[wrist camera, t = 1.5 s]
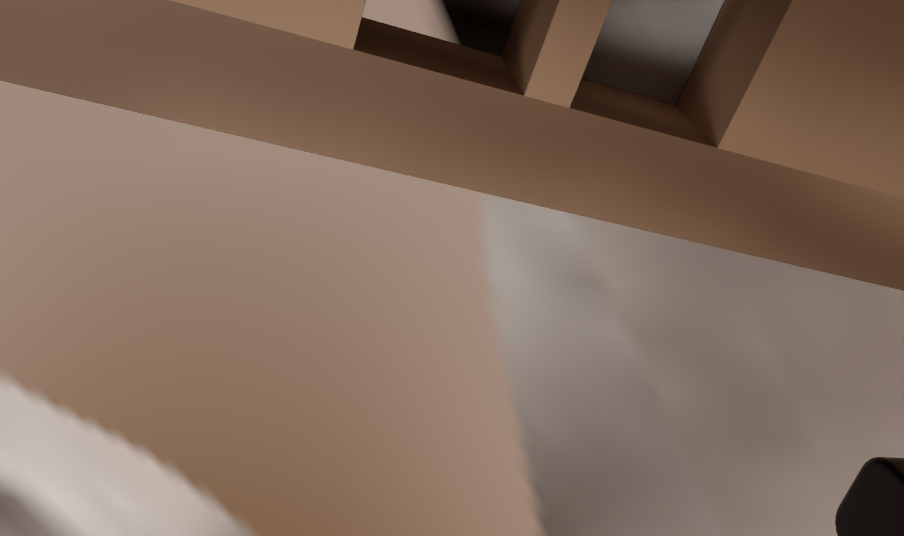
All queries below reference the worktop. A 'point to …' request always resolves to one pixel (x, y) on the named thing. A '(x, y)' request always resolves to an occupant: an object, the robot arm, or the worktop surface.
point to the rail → (533, 109)
